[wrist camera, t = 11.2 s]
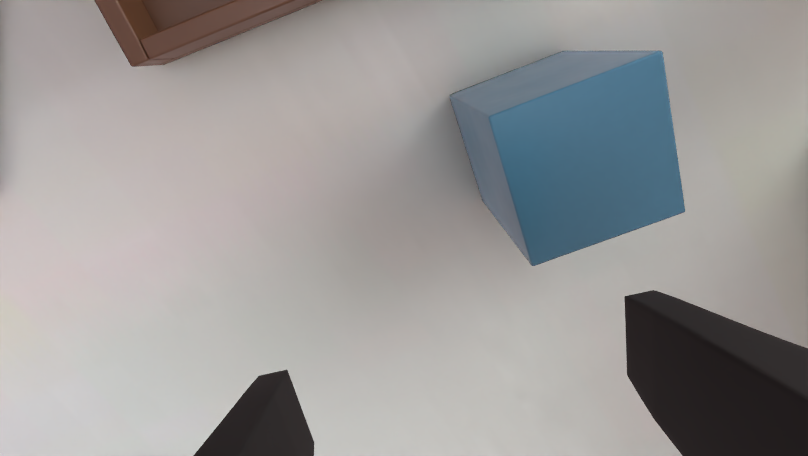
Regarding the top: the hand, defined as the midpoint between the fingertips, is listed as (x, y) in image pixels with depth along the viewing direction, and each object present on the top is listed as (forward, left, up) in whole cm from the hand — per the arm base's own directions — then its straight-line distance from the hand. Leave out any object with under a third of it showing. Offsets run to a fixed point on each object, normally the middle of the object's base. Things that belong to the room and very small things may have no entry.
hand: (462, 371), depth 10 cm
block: (+3, +5, -9) cm, 11 cm away
